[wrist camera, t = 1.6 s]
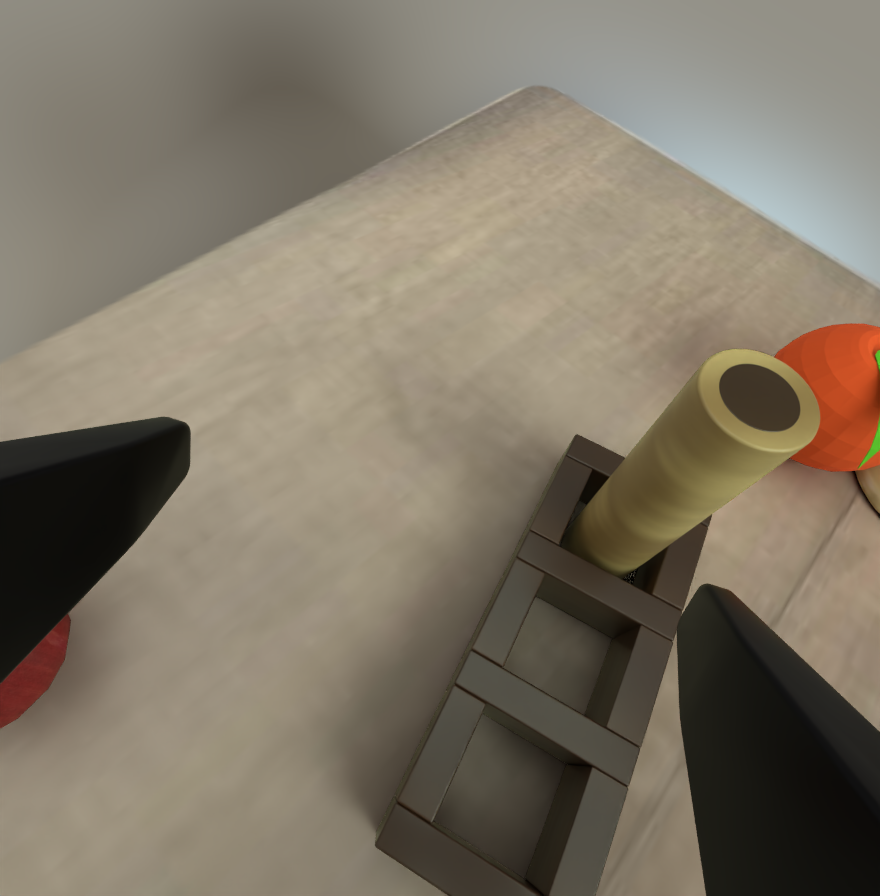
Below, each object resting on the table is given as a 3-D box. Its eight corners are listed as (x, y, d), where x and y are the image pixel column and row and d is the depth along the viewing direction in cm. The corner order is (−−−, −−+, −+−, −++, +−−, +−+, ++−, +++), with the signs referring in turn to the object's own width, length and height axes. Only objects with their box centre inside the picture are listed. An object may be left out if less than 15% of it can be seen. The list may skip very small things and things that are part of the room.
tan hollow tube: (642, 576, 25) (848, 436, 14) (577, 594, 24) (740, 463, 13) (612, 511, 26) (777, 337, 15) (550, 527, 25) (675, 358, 14)
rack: (544, 945, 18) (570, 977, 16) (375, 833, 19) (373, 846, 17) (683, 527, 26) (717, 501, 23) (557, 463, 27) (576, 432, 24)
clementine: (862, 534, 27) (1007, 468, 20) (720, 486, 27) (820, 408, 21) (856, 405, 31) (977, 316, 24) (732, 365, 31) (819, 269, 25)
